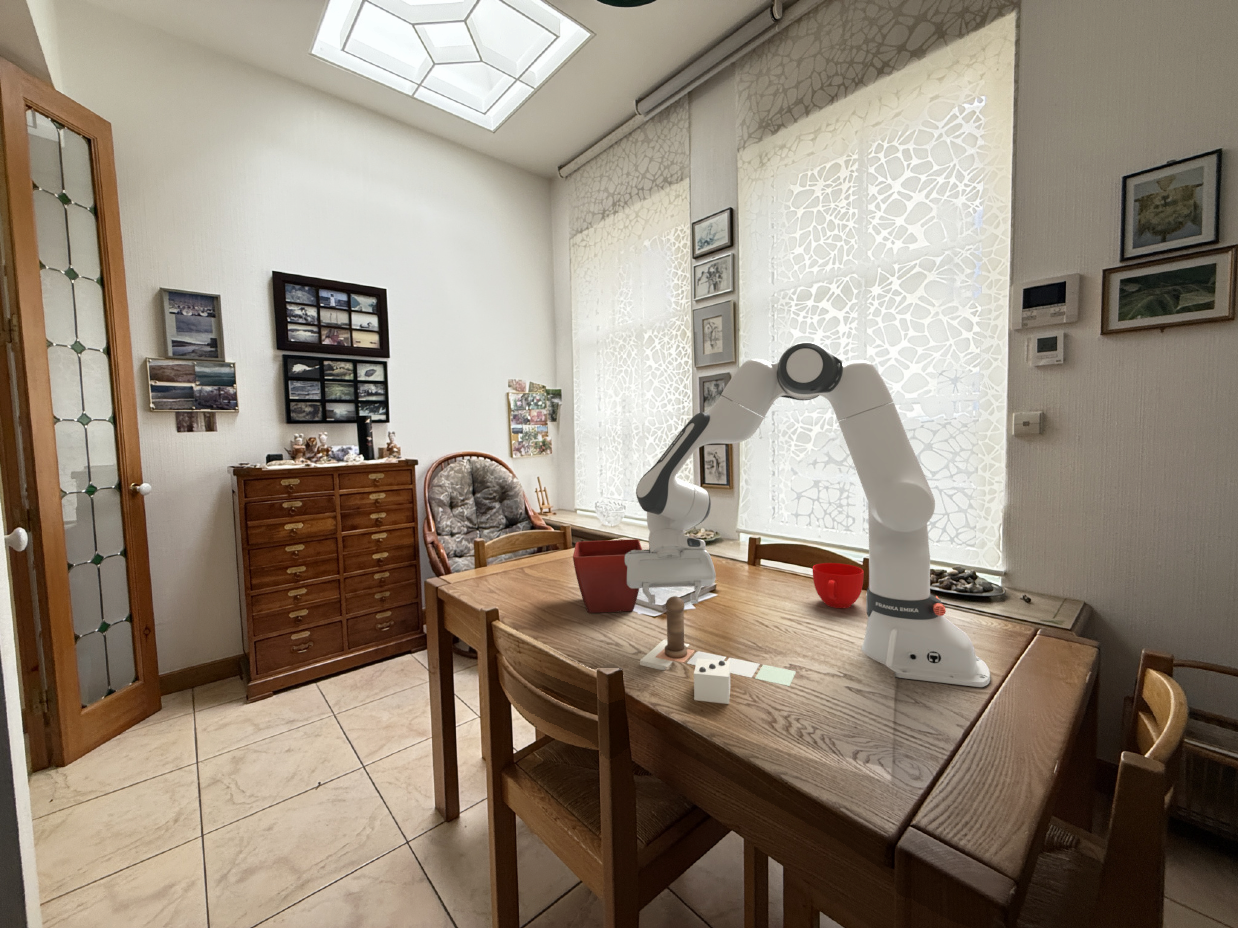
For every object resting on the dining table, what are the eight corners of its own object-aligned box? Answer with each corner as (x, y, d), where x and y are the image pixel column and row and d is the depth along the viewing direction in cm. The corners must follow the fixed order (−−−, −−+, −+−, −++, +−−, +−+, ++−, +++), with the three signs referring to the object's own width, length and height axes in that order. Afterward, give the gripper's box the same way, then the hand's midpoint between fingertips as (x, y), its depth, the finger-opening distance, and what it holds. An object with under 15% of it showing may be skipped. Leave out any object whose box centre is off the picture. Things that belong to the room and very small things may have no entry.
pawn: (691, 652, 106) (690, 596, 105) (677, 660, 102) (676, 602, 102) (674, 646, 109) (673, 591, 109) (660, 653, 106) (658, 597, 105)
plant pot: (574, 618, 131) (572, 556, 130) (577, 595, 150) (576, 541, 149) (645, 615, 132) (644, 553, 131) (640, 593, 151) (639, 538, 150)
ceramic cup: (804, 611, 132) (804, 574, 131) (818, 594, 146) (818, 560, 145) (857, 620, 124) (857, 581, 124) (866, 601, 138) (866, 566, 138)
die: (730, 692, 91) (730, 658, 91) (729, 710, 86) (728, 673, 85) (697, 689, 93) (697, 655, 93) (694, 706, 87) (693, 669, 87)
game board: (810, 673, 98) (810, 667, 98) (799, 702, 87) (799, 695, 87) (664, 643, 114) (664, 638, 114) (640, 664, 103) (640, 659, 103)
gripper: (624, 543, 115) (626, 597, 106) (711, 540, 115) (721, 595, 106) (624, 557, 120) (626, 611, 111) (708, 554, 120) (717, 608, 111)
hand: (673, 603), depth 108 cm, fingers open, 8 cm apart
